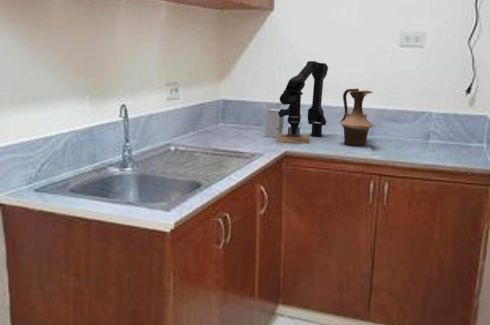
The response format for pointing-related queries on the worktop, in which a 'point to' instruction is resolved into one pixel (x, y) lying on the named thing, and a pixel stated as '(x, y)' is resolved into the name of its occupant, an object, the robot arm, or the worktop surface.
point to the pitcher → (355, 120)
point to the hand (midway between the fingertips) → (293, 133)
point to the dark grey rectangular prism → (297, 133)
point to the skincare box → (273, 123)
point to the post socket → (293, 138)
